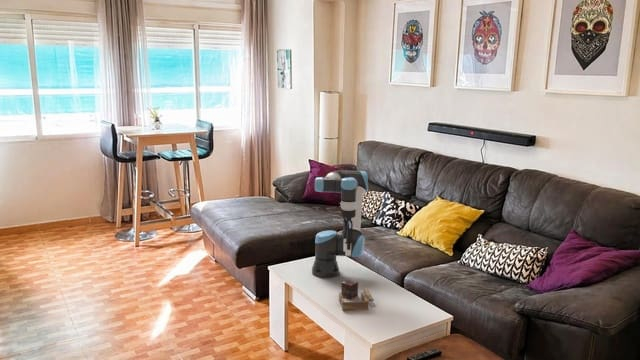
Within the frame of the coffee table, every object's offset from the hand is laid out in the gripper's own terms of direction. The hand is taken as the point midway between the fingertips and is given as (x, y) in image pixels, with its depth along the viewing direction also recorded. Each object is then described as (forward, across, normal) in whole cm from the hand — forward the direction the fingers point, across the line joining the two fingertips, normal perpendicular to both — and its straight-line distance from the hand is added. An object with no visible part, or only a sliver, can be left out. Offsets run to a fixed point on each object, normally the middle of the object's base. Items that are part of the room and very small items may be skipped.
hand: (347, 253), depth 262 cm
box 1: (+19, +10, 0) cm, 22 cm away
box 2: (+19, +20, 0) cm, 27 cm away
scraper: (+19, +14, +9) cm, 25 cm away
